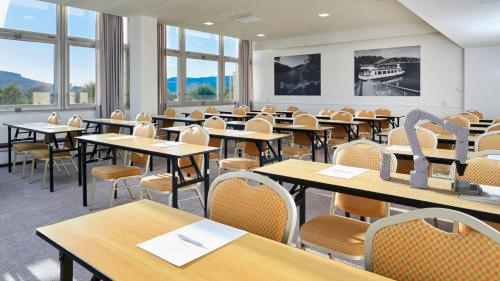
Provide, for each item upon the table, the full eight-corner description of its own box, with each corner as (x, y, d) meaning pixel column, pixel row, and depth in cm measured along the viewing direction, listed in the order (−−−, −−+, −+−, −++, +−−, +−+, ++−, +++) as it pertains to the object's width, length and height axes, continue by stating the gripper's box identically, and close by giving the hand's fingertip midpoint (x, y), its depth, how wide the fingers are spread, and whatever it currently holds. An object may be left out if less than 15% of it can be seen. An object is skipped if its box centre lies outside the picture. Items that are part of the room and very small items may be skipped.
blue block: (469, 193, 196) (470, 181, 196) (454, 191, 199) (455, 180, 198) (468, 191, 200) (469, 180, 199) (453, 189, 203) (454, 178, 202)
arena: (453, 194, 197) (453, 187, 196) (451, 188, 208) (451, 182, 207) (482, 196, 192) (482, 189, 191) (478, 190, 203) (478, 184, 202)
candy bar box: (379, 175, 239) (379, 150, 237) (387, 176, 238) (388, 150, 236) (381, 180, 229) (382, 153, 226) (390, 180, 228) (391, 153, 225)
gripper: (472, 151, 190) (470, 178, 192) (468, 147, 203) (466, 172, 205) (456, 151, 193) (454, 176, 195) (453, 147, 206) (452, 171, 208)
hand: (459, 174), depth 200 cm, fingers open, 7 cm apart
